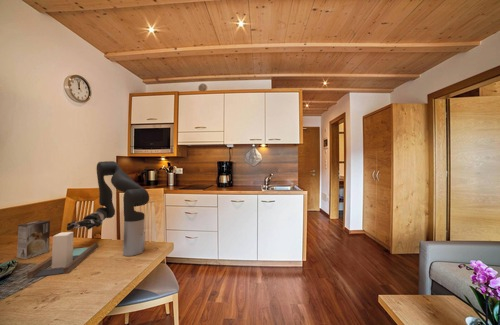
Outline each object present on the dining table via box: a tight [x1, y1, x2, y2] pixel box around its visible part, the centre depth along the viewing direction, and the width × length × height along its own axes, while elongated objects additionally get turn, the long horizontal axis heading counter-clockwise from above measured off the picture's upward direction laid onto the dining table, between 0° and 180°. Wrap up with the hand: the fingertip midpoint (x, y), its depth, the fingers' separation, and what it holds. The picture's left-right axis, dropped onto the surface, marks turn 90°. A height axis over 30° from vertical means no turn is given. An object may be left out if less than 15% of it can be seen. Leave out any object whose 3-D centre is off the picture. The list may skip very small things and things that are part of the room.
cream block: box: [51, 231, 74, 269], centre depth 87 cm, size 5×5×14 cm
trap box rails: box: [26, 242, 99, 279], centre depth 91 cm, size 13×27×2 cm, turn 17°
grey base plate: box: [33, 256, 78, 278], centre depth 86 cm, size 10×17×1 cm, turn 17°
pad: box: [73, 246, 90, 256], centre depth 99 cm, size 10×10×1 cm
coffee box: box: [16, 219, 51, 260], centre depth 96 cm, size 9×6×16 cm
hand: (78, 228), depth 99 cm, fingers open, 8 cm apart
